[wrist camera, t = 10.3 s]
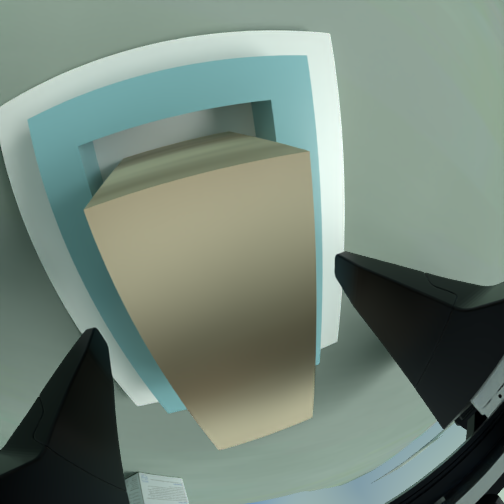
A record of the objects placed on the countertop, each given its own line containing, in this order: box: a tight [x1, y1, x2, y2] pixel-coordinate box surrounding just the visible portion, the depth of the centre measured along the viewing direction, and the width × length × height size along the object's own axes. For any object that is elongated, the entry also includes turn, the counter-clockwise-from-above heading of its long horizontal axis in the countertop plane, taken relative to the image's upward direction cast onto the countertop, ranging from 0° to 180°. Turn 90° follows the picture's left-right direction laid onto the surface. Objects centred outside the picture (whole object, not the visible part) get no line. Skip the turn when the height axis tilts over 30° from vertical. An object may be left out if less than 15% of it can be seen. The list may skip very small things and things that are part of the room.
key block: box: [84, 131, 317, 450], centre depth 9 cm, size 10×4×6 cm, turn 9°
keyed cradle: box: [0, 30, 345, 413], centre depth 11 cm, size 14×18×3 cm
